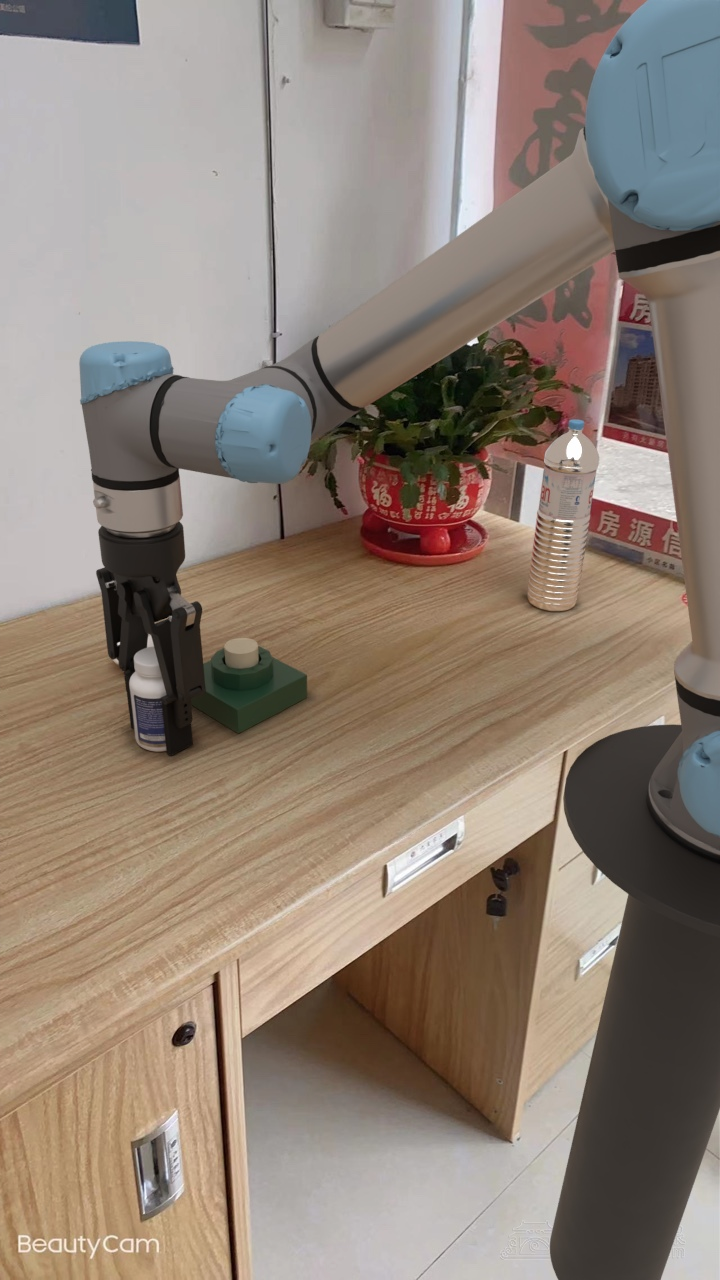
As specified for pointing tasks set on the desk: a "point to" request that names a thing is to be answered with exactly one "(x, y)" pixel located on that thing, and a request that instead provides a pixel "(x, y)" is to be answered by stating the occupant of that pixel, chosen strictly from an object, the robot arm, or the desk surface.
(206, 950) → the desk surface
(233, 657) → the cream cylindrical peg
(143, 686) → the pill bottle
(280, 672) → the green square peg base
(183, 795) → the desk surface
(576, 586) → the water bottle
